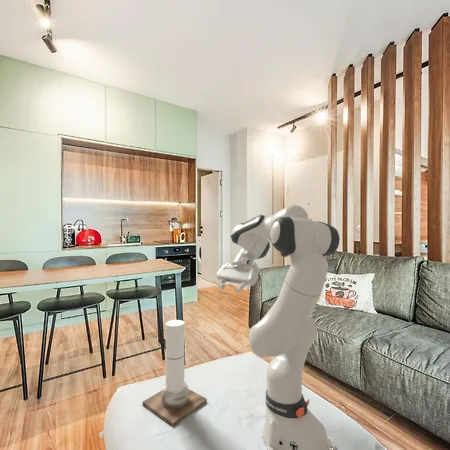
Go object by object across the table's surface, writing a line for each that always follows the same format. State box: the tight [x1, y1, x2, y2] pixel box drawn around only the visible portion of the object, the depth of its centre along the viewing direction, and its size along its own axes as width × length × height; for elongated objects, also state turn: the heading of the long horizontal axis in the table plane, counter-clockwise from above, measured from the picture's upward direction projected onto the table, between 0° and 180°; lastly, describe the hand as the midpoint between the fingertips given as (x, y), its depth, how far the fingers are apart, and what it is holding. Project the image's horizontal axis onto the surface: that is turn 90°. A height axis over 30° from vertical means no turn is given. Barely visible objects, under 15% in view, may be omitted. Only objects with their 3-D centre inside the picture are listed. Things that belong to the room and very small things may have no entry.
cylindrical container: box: [165, 319, 185, 393], centre depth 105 cm, size 7×7×25 cm
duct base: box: [142, 381, 208, 427], centre depth 105 cm, size 18×17×6 cm
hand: (229, 289), depth 118 cm, fingers open, 8 cm apart
